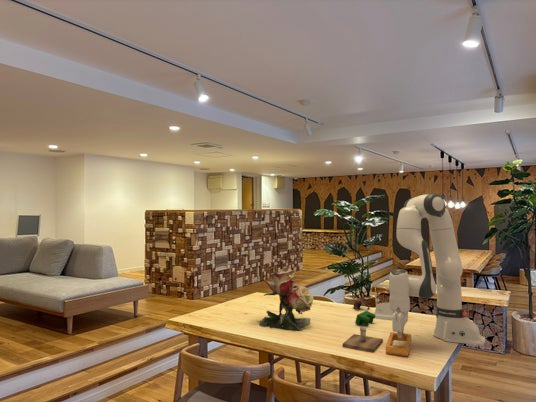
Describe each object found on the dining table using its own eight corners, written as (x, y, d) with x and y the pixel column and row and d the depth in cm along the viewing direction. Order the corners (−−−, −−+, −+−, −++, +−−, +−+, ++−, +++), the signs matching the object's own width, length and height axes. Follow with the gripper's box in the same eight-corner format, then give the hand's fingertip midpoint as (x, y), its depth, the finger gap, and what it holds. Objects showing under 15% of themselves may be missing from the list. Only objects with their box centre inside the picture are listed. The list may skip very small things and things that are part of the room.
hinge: (373, 318, 225) (374, 300, 228) (374, 319, 229) (375, 301, 232) (404, 321, 218) (404, 303, 221) (405, 322, 222) (405, 304, 225)
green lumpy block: (365, 334, 210) (365, 321, 206) (355, 329, 214) (355, 316, 210) (376, 321, 218) (376, 308, 214) (366, 317, 221) (366, 304, 218)
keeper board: (382, 342, 184) (382, 324, 184) (373, 352, 170) (373, 333, 171) (353, 337, 191) (353, 320, 192) (342, 347, 177) (342, 328, 178)
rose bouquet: (310, 332, 199) (310, 272, 200) (256, 326, 208) (256, 270, 209) (320, 319, 223) (319, 266, 224) (271, 314, 232) (271, 263, 233)
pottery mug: (354, 307, 254) (361, 296, 253) (366, 315, 248) (373, 304, 248) (348, 306, 244) (355, 294, 244) (361, 315, 238) (368, 303, 238)
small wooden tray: (411, 340, 177) (411, 334, 176) (407, 356, 165) (407, 349, 165) (391, 338, 181) (390, 332, 180) (385, 353, 169) (385, 346, 169)
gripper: (403, 311, 167) (404, 344, 167) (410, 301, 186) (411, 331, 185) (388, 310, 170) (389, 342, 170) (396, 300, 188) (397, 329, 188)
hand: (400, 336), depth 178 cm, fingers closed on small wooden tray, 2 cm apart
